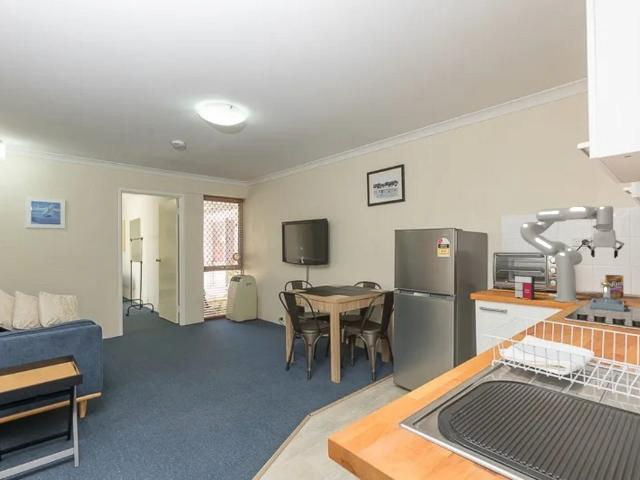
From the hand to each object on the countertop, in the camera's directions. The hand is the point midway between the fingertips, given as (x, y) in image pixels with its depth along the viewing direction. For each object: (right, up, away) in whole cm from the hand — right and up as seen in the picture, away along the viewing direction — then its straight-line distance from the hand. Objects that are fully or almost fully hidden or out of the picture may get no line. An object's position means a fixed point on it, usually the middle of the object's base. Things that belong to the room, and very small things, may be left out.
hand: (604, 257), depth 197 cm
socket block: (+11, -28, +10) cm, 32 cm away
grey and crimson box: (-29, -29, +28) cm, 50 cm away
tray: (-2, -28, -5) cm, 28 cm away
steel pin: (-2, -27, -5) cm, 28 cm away
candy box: (+29, -28, +27) cm, 48 cm away
